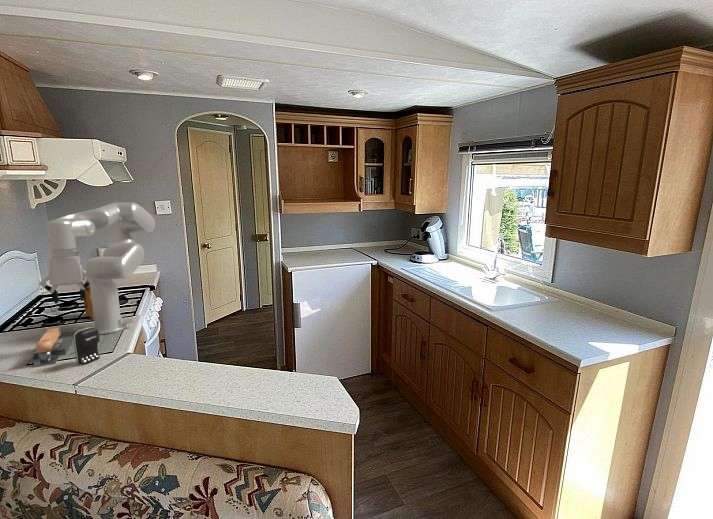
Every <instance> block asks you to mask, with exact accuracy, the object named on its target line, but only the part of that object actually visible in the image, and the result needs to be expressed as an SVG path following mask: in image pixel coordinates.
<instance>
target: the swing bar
mask: <svg viewBox="0 0 713 519" xmlns="http://www.w3.org/2000/svg"><path fill="white" fill-rule="evenodd" d="M61 335H62V332H61V326H60V325H59V326H58V325H57V326H51V327H48V328H47V330H46V332H45V333H44V334H43V335H42V336H41V338H40V340H38V341H36V343H35V345H36V349H37V352H38V353H41V352H47V351H50V350H52V346H53V345H54V343H55V341H56V340H57V339H59V338H60V336H61Z"/></svg>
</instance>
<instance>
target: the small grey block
mask: <svg viewBox="0 0 713 519" xmlns="http://www.w3.org/2000/svg"><path fill="white" fill-rule="evenodd" d="M39 358H40V359H35V362H34V363H33V365H32V368H38V367H42V366H43V367H45V366H49V365H55V364H57V362H58V360H59V358H60V355H58V356H52V355H51V350H50V351H47V352H41V353H39Z"/></svg>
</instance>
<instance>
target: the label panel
mask: <svg viewBox="0 0 713 519" xmlns="http://www.w3.org/2000/svg"><path fill="white" fill-rule="evenodd" d="M72 337H73V336H68V337H67V336H66V337H59V338H57V340H56V341H55V343H54V345H53V346H52V350H51V355H52V357H55V356H64V355H65V356H66V354H67V353H68V350H69V349H70V347H71V344H72V343H73V338H72ZM32 359H33V360H34V361H35V360H37V359H40V358H39V353H38V352H37V348H36V349H35V350H34V352H33V353H32Z"/></svg>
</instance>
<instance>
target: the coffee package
mask: <svg viewBox="0 0 713 519" xmlns="http://www.w3.org/2000/svg"><path fill="white" fill-rule="evenodd" d="M87 281H88V279H87V278H86V280H85V282H84V284H85V283H86V282H87ZM85 294H86V298H84V300H83V306H84V309H85V315H87V316H88V317H89V318H91V319H92V320H94V315H93V306H92V297H91V289H90V284H89V285H88V286H87V287H86V288H85Z"/></svg>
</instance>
